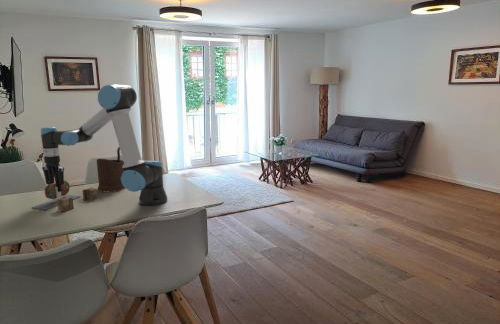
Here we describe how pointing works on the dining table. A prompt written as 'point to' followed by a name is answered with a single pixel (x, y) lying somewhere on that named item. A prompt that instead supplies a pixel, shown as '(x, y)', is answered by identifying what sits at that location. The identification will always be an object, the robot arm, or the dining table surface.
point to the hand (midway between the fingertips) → (56, 196)
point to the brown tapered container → (110, 174)
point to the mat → (53, 203)
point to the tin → (51, 191)
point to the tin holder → (67, 203)
